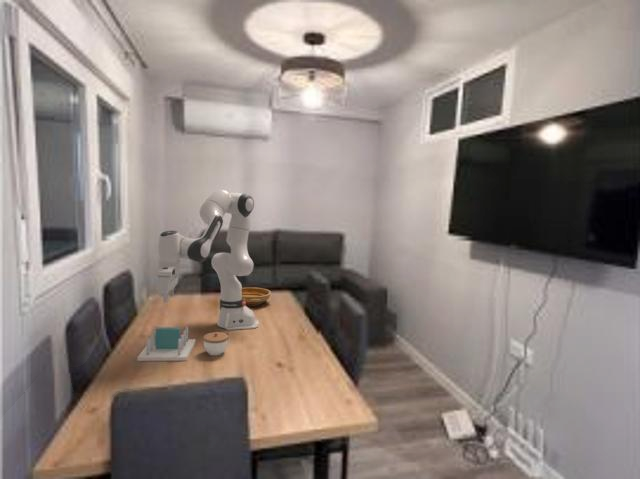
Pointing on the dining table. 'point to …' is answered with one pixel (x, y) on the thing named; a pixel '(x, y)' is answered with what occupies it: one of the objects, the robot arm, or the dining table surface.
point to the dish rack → (167, 354)
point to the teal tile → (167, 337)
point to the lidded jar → (215, 343)
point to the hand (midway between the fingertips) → (168, 298)
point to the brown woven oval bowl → (255, 295)
